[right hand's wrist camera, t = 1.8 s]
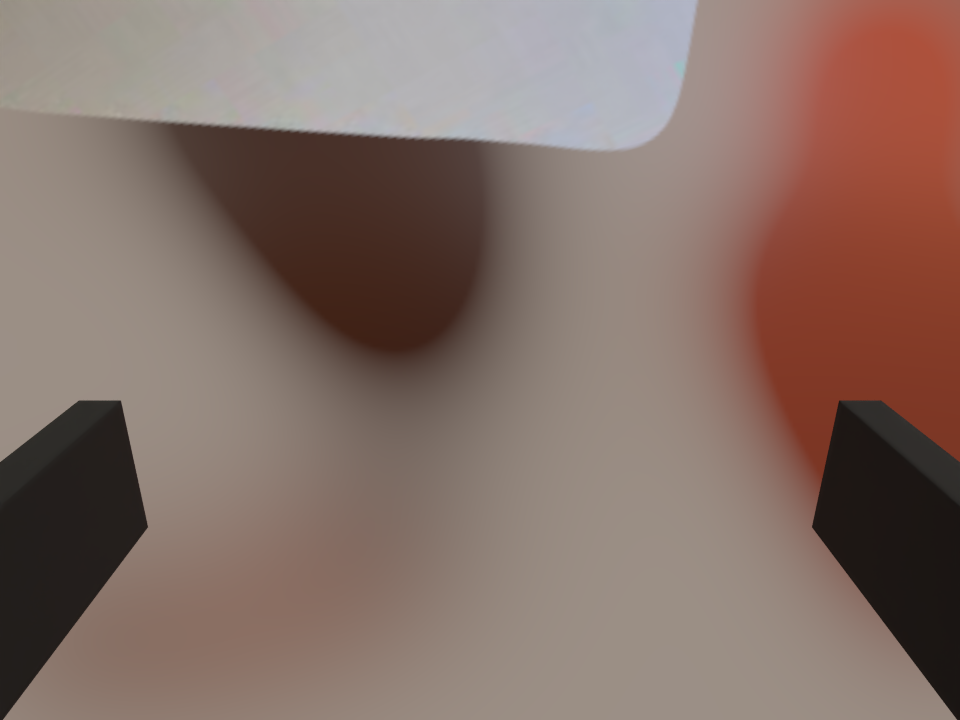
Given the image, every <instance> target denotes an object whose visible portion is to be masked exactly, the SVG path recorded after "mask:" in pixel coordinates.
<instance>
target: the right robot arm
mask: <svg viewBox="0 0 960 720" xmlns="http://www.w3.org/2000/svg"><path fill="white" fill-rule="evenodd" d="M147 528H148V525H147V521H146V516H145V511H144V507H143V502H142V497H141V492H140V488H139V483H138V478H137V474H136V469H135V464H134V460H133V455H132V450H131V446H130V441H129V436H128V432H127V427H126V422H125V418H124V413H123V408H122V404H121V401H78V402H77V403H75V404H74V405H73V406H71V407H70V408H69V409H68V410H66V411H65V412H64V413H63V414H61V415H60V416H59V417H57V418H56V419H55V420H54V421H52V422H51V423H50V424H48V425H47V426H46V427H45V428H43V429H42V430H41V431H40V432H38V433H37V434H36V435H34V436H33V437H32V438H31V439H29V440H28V441H27V442H26V443H24V444H23V445H22V446H20V447H19V448H18V449H17V450H15V451H14V452H13V453H11V454H10V455H9V456H8V457H6V458H5V459H4V460H3V461H1V462H0V720H3V719H4V717H5V716H6V715H7V713H8V712H9V711H10V709H11V708H12V707H13V705H14V704H15V703H16V702H17V700H18V699H19V698H20V696H21V695H22V694H23V692H24V691H25V690H26V688H27V687H28V686H29V684H30V683H31V682H32V680H33V679H34V678H35V676H36V675H37V674H38V672H39V671H40V670H41V668H42V667H43V666H44V664H45V663H46V662H47V660H48V659H49V658H50V656H51V655H52V654H53V652H54V651H55V650H56V648H57V647H58V646H59V644H60V643H61V642H62V641H63V639H64V638H65V636H66V635H67V634H68V633H69V631H70V630H71V629H72V627H73V626H74V625H75V623H76V622H77V621H78V619H79V618H80V617H81V615H82V614H83V613H84V611H85V610H86V609H87V607H88V606H89V605H90V603H91V602H92V601H93V599H94V598H95V597H96V595H97V594H98V593H99V591H100V590H101V589H102V587H103V586H104V585H105V583H106V582H107V581H108V579H109V578H110V577H111V575H112V574H113V573H114V572H115V570H116V569H117V568H118V566H119V565H120V563H121V562H122V561H123V560H124V558H125V557H126V555H127V554H128V553H129V552H130V550H131V549H132V548H133V546H134V545H135V544H136V542H137V541H138V540H139V538H140V537H141V536H142V534H143V533H144V532H145V530H146V529H147ZM812 528H813V529H814V530H815V532H816V533H817V534H818V536H819V537H820V538H821V540H822V541H823V542H824V544H825V545H826V546H827V548H828V549H829V550H830V552H831V553H832V554H833V556H834V557H835V558H836V560H837V561H838V562H839V563H840V565H841V566H842V567H843V569H844V570H845V571H846V573H847V574H848V575H849V577H850V578H851V579H852V581H853V582H854V583H855V585H856V586H857V587H858V589H859V590H860V591H861V593H862V594H863V595H864V597H865V598H866V599H867V601H868V602H869V603H870V605H871V606H872V607H873V609H874V610H875V611H876V613H877V614H878V615H879V616H880V618H881V619H882V621H883V622H884V623H885V625H886V626H887V627H888V629H889V630H890V631H891V632H892V634H893V635H894V636H895V638H896V639H897V641H898V642H899V643H900V644H901V646H902V647H903V648H904V650H905V651H906V652H907V654H908V655H909V656H910V658H911V659H912V660H913V662H914V663H915V664H916V666H917V667H918V668H919V670H920V671H921V672H922V674H923V675H924V676H925V678H926V679H927V680H928V682H929V683H930V684H931V686H932V687H933V688H934V690H935V691H936V692H937V694H938V695H939V696H940V698H941V699H942V700H943V702H944V703H945V704H946V706H947V707H948V708H949V710H950V711H951V712H952V713H953V715H954V716H955V717H956V719H957V720H960V462H959V461H957V460H956V459H955V458H954V457H952V456H951V455H950V454H949V453H947V452H946V451H945V450H943V449H942V448H941V447H940V446H938V445H937V444H936V443H935V442H933V441H932V440H931V439H929V438H928V437H927V436H926V435H924V434H923V433H922V432H920V431H919V430H918V429H917V428H915V427H914V426H913V425H912V424H910V423H909V422H908V421H906V420H905V419H904V418H903V417H901V416H900V415H899V414H897V413H896V412H895V411H894V410H892V409H891V408H890V407H888V406H887V405H886V404H885V403H883V402H882V401H839V404H838V409H837V413H836V418H835V422H834V427H833V432H832V436H831V441H830V446H829V450H828V455H827V460H826V465H825V469H824V474H823V478H822V483H821V488H820V492H819V497H818V502H817V506H816V511H815V516H814V520H813V525H812Z"/></svg>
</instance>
